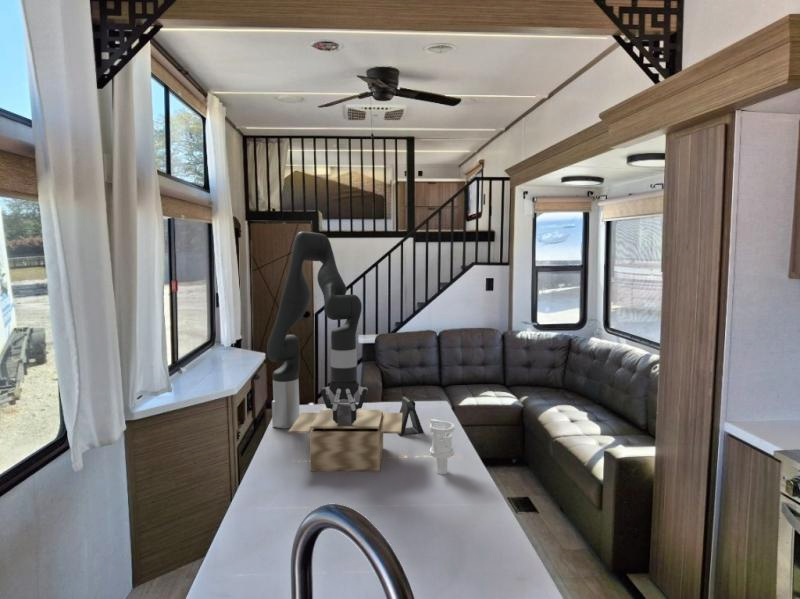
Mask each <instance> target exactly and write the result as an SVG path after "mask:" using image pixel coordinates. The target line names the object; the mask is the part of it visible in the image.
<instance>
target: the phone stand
mask: <svg viewBox="0 0 800 599" xmlns="http://www.w3.org/2000/svg"><path fill="white" fill-rule="evenodd" d="M398 413H403V415H402V428H401V433H396V434H397V435H398V436H399V437H402V436H404V435H405V436H410V435H419V434H424V430H423V426H422V424H421V421H420V419H419V415H418V413H417V410H416V402H415V401H414V400H412V398H410V397H409V396H407V395H406V396H403V397H402V398H401V406H400V410H399V412H398ZM409 418H410V421H411V425H412V427H407V423H408V419H409Z"/></svg>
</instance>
